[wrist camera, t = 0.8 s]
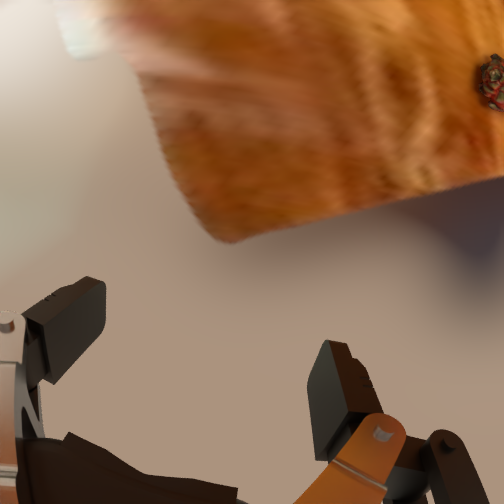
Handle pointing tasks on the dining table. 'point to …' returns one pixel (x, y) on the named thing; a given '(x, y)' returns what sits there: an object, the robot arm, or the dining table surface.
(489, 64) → the dragon fruit
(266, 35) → the dining table surface
